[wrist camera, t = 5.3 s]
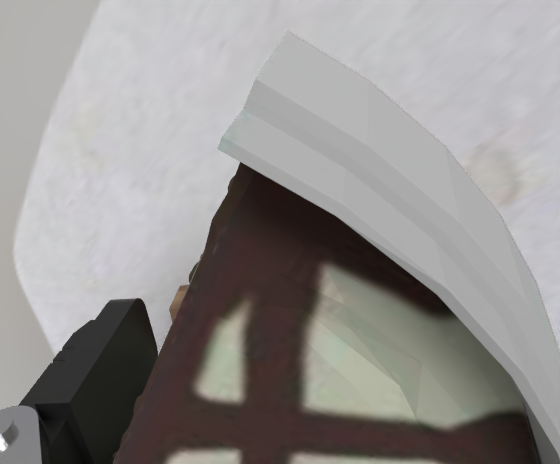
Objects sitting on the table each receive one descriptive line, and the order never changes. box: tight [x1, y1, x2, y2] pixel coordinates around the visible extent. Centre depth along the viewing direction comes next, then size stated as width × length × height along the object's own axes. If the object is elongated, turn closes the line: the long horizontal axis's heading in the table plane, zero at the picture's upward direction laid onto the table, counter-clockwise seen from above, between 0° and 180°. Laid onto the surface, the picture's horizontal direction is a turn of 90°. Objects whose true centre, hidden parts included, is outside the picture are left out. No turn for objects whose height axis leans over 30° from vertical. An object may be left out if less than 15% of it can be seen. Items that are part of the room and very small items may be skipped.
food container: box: [113, 31, 560, 464], centre depth 10 cm, size 12×6×10 cm, turn 156°
